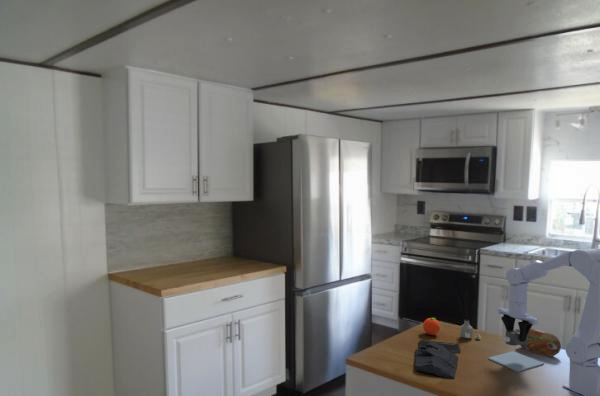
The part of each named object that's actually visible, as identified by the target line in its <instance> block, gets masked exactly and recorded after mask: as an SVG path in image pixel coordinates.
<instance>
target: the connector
mask: <svg viewBox="0 0 600 396" xmlns="http://www.w3.org/2000/svg"><path fill="white" fill-rule="evenodd" d="M527 336H528V334H527ZM501 340H502V341H504V343H505V344H506V345H509V346H520V345H522V344H527V337H526V341H523V342H521V341H520V329H519V328H518V329H517V328H514V330H507V331H506V330H505V335H502V336H501Z"/></svg>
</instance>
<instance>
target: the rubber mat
mask: <svg viewBox="0 0 600 396" xmlns="http://www.w3.org/2000/svg"><path fill="white" fill-rule="evenodd" d="M487 359H488V360H490V361H492V362H494V363H496V364H499V365H501V366H503V367H505V368H507V369H510V370H513V371H515V372H517V373H520V372H523V371H526V370H530V369H533V368H537V367H540V366H544V365H545V363H544V362H542V361H539V360H537V359H534V358H532V357H529V356H527V355H524V354H522V353H519V352H516V351H514V350H513V351H508V352H505V353H502V354H497V355H493V356H489V357H488V358H487Z"/></svg>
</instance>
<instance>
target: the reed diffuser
mask: <svg viewBox="0 0 600 396" xmlns="http://www.w3.org/2000/svg"><path fill="white" fill-rule="evenodd" d="M465 292H466V293H465ZM465 292H463V299H464V300H463V301H465V302H464V308H465V311H467V304H468V289H466V290H465ZM465 294H466V295H465ZM456 295H457V298H458V302H459V305H460V309H461V313H462V315H463V319H464V321H463V322H464V323H463V324H462V325H461V326H460V331H459V332H460V337H462V338H463V339H471V338H473V331H474V329H473V326H471V325H470V319H471V315H472V312H473V309H474V305H475V302H476V298H477V295H478V291H476V294H475V296H474V300H473V303H472V307H471V310H470V313H469V316H468V312H465V313H464V310H463V307H462V304H461V300H460V297H459V294H458V291H457V290H456ZM465 316H466V317H465ZM474 339H476V340H482V336H481V334H479V333H477V334H476V335H475V336H474Z"/></svg>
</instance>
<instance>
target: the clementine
mask: <svg viewBox="0 0 600 396" xmlns="http://www.w3.org/2000/svg"><path fill="white" fill-rule="evenodd" d="M422 328H423V331H424V332H425V333H426V334H427V335H429V336H436V335H437V334H438V333H439V332H440V331H441V325H440V322H439V321H438V320H437V317H429V318H426V319H425V320H424V322H423V323H422Z"/></svg>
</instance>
